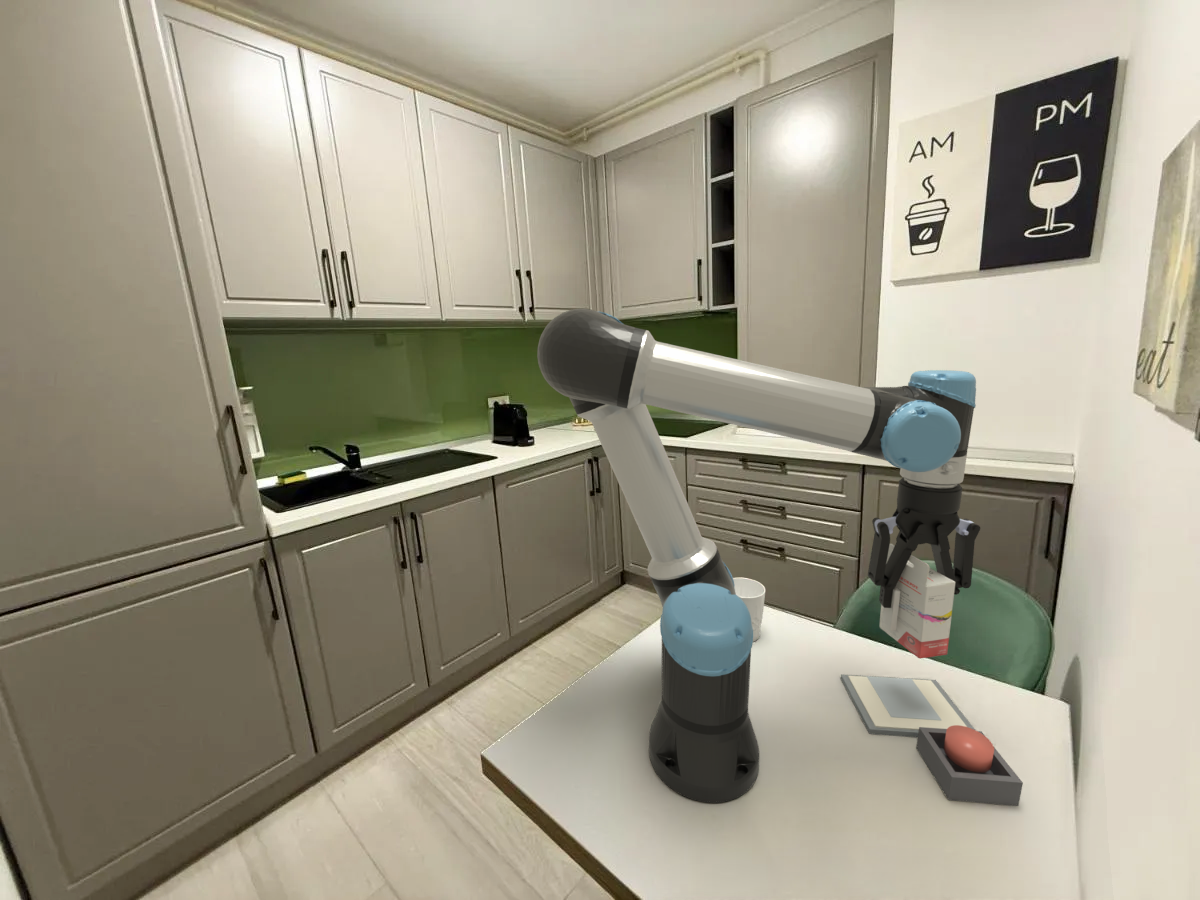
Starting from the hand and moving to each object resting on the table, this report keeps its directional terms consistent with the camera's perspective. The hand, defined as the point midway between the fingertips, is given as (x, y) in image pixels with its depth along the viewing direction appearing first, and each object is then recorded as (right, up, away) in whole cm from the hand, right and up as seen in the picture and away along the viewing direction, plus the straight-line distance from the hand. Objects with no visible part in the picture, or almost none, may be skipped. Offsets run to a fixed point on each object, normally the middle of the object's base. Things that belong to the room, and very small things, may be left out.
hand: (912, 626), depth 74 cm
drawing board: (0, -13, +2) cm, 14 cm away
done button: (+1, -13, -10) cm, 17 cm away
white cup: (-19, -10, +22) cm, 31 cm away
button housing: (+1, -16, -10) cm, 19 cm away
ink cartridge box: (0, -3, +1) cm, 3 cm away
